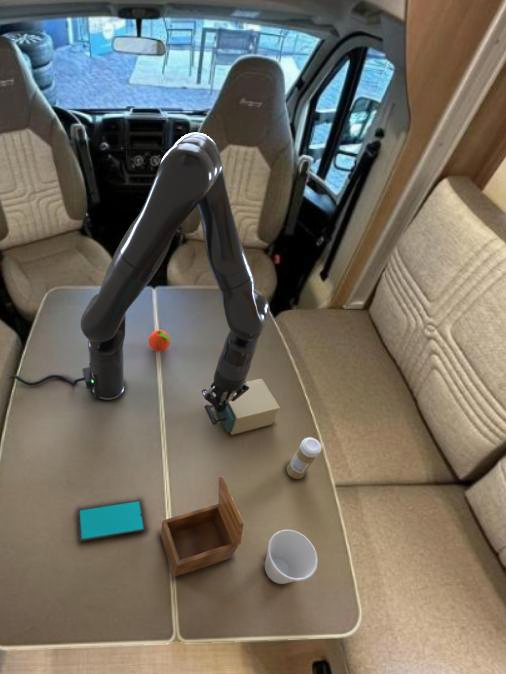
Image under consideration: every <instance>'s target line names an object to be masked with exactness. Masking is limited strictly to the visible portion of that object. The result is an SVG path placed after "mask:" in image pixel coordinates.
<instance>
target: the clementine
mask: <svg viewBox="0 0 506 674" xmlns="http://www.w3.org/2000/svg"><path fill="white" fill-rule="evenodd" d="M171 343H172V341H171V337H170V335H169V334H168V333H167V332H166V331H165V330H162V329H156V330H154V331H153V332H151V333H150V334H149V337H148V345H149V347H150V349H151V350H153V351H154V352H158V353H160V352H164V351H166V350H168V348H169V346H170V344H171Z"/></svg>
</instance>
